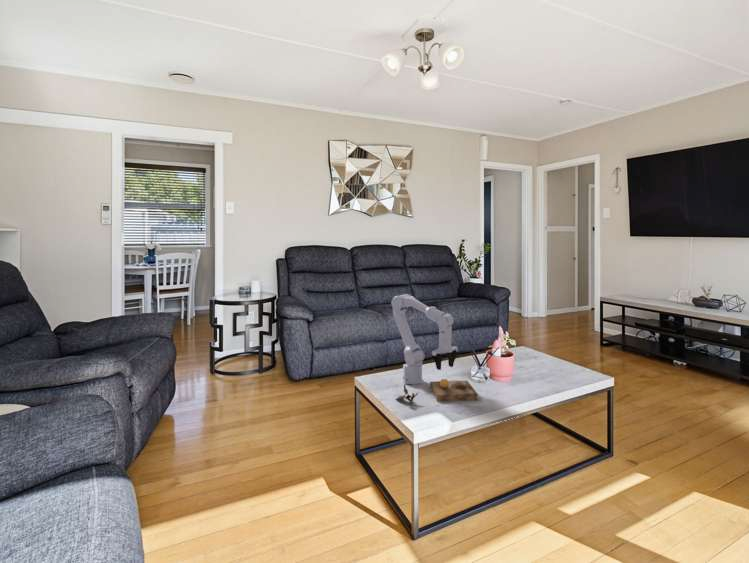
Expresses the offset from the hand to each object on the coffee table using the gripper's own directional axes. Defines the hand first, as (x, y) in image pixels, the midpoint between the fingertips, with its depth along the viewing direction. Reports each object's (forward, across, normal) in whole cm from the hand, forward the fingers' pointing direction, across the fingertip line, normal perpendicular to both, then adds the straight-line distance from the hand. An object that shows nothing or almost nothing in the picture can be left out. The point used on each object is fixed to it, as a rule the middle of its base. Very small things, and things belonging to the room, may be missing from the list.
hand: (444, 367), depth 190 cm
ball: (+5, -4, -5) cm, 8 cm away
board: (+10, -1, -7) cm, 12 cm away
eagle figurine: (+11, -24, -1) cm, 26 cm away
